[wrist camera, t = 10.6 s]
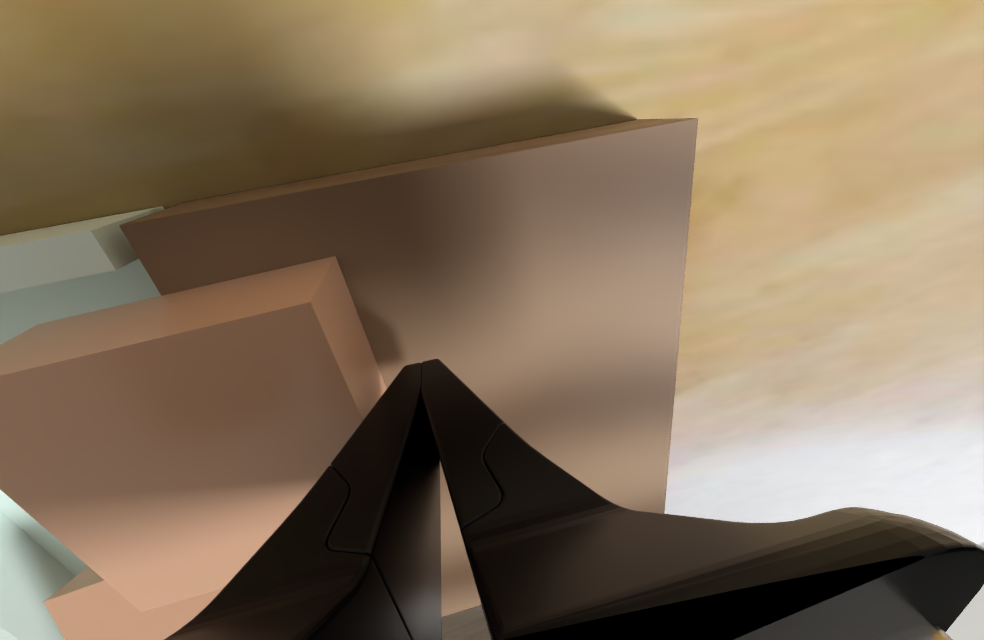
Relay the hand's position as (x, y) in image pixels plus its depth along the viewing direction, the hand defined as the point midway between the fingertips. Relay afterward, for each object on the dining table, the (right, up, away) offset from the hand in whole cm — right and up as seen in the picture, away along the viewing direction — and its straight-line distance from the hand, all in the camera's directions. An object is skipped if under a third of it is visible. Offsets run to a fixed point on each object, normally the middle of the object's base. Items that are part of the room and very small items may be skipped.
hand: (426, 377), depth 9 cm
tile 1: (-4, -1, 0) cm, 4 cm away
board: (+1, -1, +5) cm, 5 cm away
